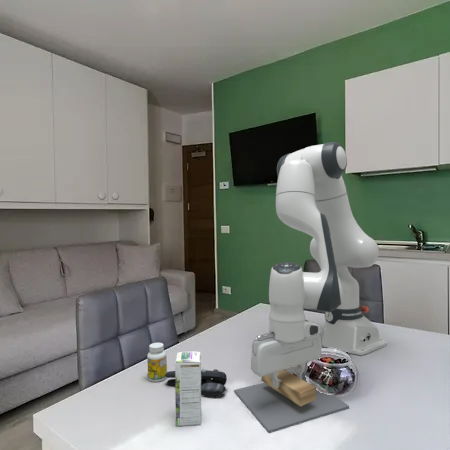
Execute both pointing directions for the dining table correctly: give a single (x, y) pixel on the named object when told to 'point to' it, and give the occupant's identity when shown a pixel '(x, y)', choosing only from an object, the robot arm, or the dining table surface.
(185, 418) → the syrup box
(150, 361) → the supplement bottle
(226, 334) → the dining table surface
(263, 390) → the rubber mat
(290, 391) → the wooden rectangular block
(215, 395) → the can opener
